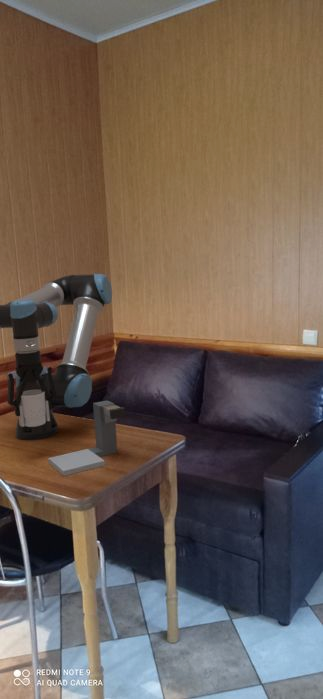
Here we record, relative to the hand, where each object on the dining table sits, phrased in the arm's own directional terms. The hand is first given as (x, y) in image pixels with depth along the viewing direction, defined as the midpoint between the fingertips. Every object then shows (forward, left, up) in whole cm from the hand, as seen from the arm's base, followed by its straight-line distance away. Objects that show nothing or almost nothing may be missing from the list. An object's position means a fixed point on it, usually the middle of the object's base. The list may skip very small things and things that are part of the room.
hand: (34, 422), depth 167 cm
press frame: (+13, +12, -11) cm, 21 cm away
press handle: (+16, +20, 0) cm, 25 cm away
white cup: (0, 0, -1) cm, 1 cm away
